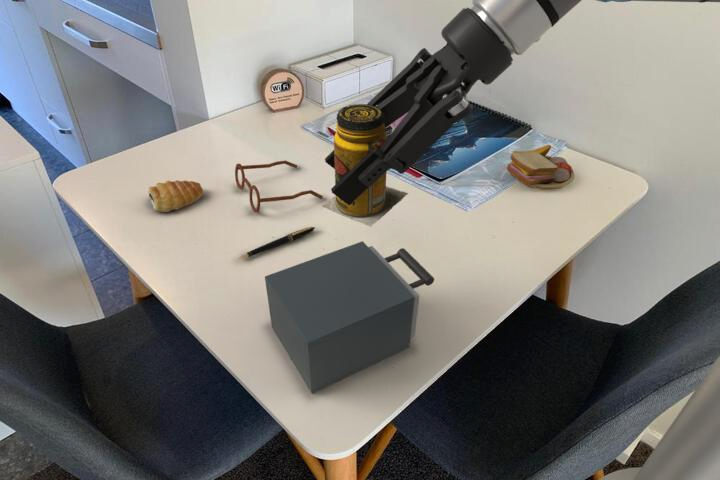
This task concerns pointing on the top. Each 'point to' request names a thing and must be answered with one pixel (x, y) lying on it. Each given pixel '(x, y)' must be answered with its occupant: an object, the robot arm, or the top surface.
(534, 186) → the toy sandwich meal
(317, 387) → the cabinet
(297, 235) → the fountain pen
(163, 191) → the pastry
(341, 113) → the condiment
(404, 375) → the top surface
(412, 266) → the drawer
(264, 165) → the glasses
